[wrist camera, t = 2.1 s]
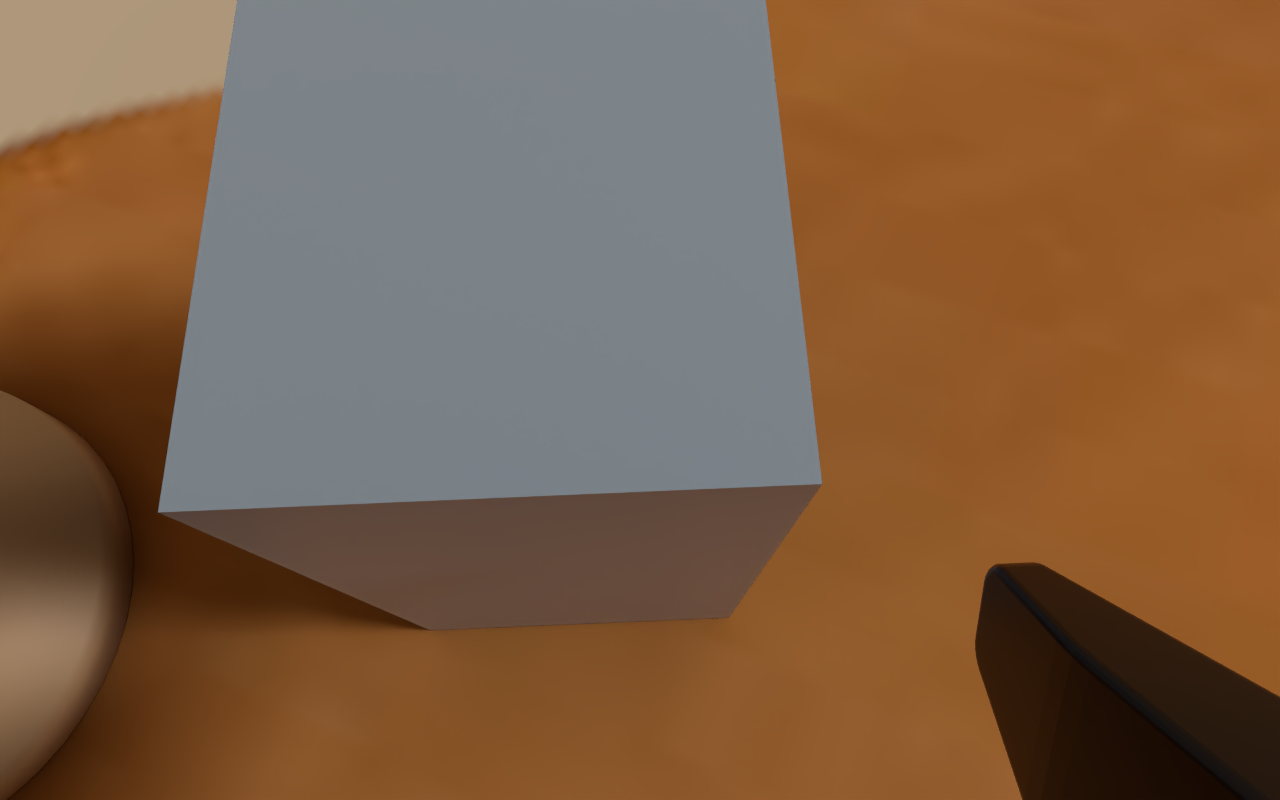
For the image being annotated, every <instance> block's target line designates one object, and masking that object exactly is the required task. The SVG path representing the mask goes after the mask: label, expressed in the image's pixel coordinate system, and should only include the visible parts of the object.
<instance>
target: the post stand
mask: <svg viewBox="0 0 1280 800" xmlns="http://www.w3.org/2000/svg"><path fill="white" fill-rule="evenodd" d="M133 563H134V558H133V546H132V534H131V529H130V524H129V520H128V516H127V511H126V507H125V504H124V502H123V499H122V497H121V494H120V492H119V489H118V487H117V484H116V482H115V480H114V478H113V477H112V475H111V473H110V472H109V470H108V468H107V467H106V465H105V463H104V462H103V460H102V459H101V458H100V457H99V455H98V454H97V453H96V452H95V451H94V450H93V448H92V447H91V446H90V445H89V444H88V443H87V441H85V440H84V439H83V438H82V437H81V436H79V435H78V434H77V433H76V432H75V431H74V430H72V429H71V428H70V427H69V426H67V425H66V424H64V423H62V422H61V421H59V420H57V419H56V418H54V417H52V416H51V415H49V414H47V413H46V412H44V411H42V410H40V409H38V408H36V407H34V406H32V405H30V404H28V403H26V402H24V401H22V400H21V399H19V398H17V397H15V396H13V395H11V394H8V393H6V392H3V391H1V390H0V800H7V799H8V798H10V797H11V796H12V795H13V794H15V793H16V792H17V791H18V790H19V789H20V788H21V787H22V786H23V785H24V784H26V783H27V782H28V781H29V780H30V779H31V778H32V777H33V776H34V775H35V774H37V773H38V772H39V771H40V770H41V769H42V767H43V766H44V765H45V764H46V763H47V762H48V761H49V760H50V758H51V757H52V756H53V755H54V754H55V753H56V752H57V751H58V750H59V748H60V747H61V746H62V745H63V744H64V743H65V741H66V740H67V739H68V737H69V736H70V734H71V733H72V732H73V730H74V729H75V728H76V726H77V725H78V723H79V722H80V721H81V719H82V718H83V717H84V715H85V714H86V712H87V710H88V709H89V707H90V705H91V703H92V702H93V700H94V698H95V696H96V695H97V693H98V691H99V689H100V688H101V686H102V684H103V682H104V680H105V678H106V675H107V673H108V671H109V669H110V666H111V664H112V662H113V659H114V657H115V655H116V653H117V650H118V646H119V643H120V640H121V637H122V634H123V630H124V627H125V624H126V621H127V615H128V610H129V604H130V599H131V593H132V582H133Z"/></svg>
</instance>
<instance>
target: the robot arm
mask: <svg viewBox="0 0 1280 800" xmlns="http://www.w3.org/2000/svg"><path fill="white" fill-rule="evenodd" d="M975 650H976V658H977V663H978V667H979V670H980V673H981V676H982V679H983V682H984V685H985V688H986V691H987V694H988V697H989V700H990V703H991V706H992V709H993V713H994V716H995V719H996V722H997V725H998V728H999V731H1000V734H1001V737H1002V740H1003V743H1004V746H1005V749H1006V752H1007V755H1008V758H1009V761H1010V764H1011V767H1012V770H1013V773H1014V776H1015V779H1016V782H1017V785H1018V788H1019V791H1020V794H1021V797H1022V800H1280V697H1279V696H1277V695H1276V694H1274V693H1272V692H1270V691H1268V690H1267V689H1265V688H1263V687H1261V686H1259V685H1258V684H1256V683H1254V682H1252V681H1250V680H1249V679H1247V678H1245V677H1243V676H1241V675H1240V674H1238V673H1236V672H1234V671H1233V670H1231V669H1229V668H1227V667H1225V666H1224V665H1222V664H1220V663H1218V662H1216V661H1215V660H1213V659H1211V658H1209V657H1207V656H1206V655H1204V654H1202V653H1200V652H1198V651H1197V650H1195V649H1193V648H1191V647H1190V646H1188V645H1186V644H1184V643H1182V642H1181V641H1179V640H1177V639H1175V638H1173V637H1172V636H1170V635H1168V634H1166V633H1164V632H1163V631H1161V630H1159V629H1157V628H1155V627H1154V626H1152V625H1150V624H1148V623H1146V622H1145V621H1143V620H1141V619H1139V618H1138V617H1136V616H1134V615H1132V614H1130V613H1129V612H1127V611H1125V610H1123V609H1121V608H1120V607H1118V606H1116V605H1114V604H1112V603H1111V602H1109V601H1107V600H1105V599H1103V598H1102V597H1100V596H1098V595H1096V594H1094V593H1093V592H1091V591H1089V590H1087V589H1086V588H1084V587H1082V586H1080V585H1078V584H1077V583H1075V582H1073V581H1071V580H1069V579H1068V578H1066V577H1064V576H1062V575H1060V574H1059V573H1057V572H1055V571H1053V570H1051V569H1050V568H1048V567H1046V566H1044V565H1042V564H1039V563H1033V562H1032V563H1009V564H996V565H994V566H993V567H991V568H990V569H989V570H988V572H987V574H986V577H985V581H984V587H983V593H982V599H981V606H980V612H979V619H978V625H977V632H976V639H975Z"/></svg>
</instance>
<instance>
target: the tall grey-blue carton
mask: <svg viewBox="0 0 1280 800" xmlns="http://www.w3.org/2000/svg"><path fill="white" fill-rule="evenodd" d="M821 485H822V479H821V471H820V462H819V453H818V445H817V436H816V428H815V419H814V411H813V402H812V393H811V385H810V376H809V368H808V359H807V351H806V342H805V334H804V325H803V316H802V308H801V299H800V291H799V282H798V274H797V265H796V256H795V248H794V239H793V231H792V222H791V214H790V205H789V196H788V188H787V179H786V171H785V162H784V154H783V145H782V137H781V128H780V119H779V111H778V102H777V94H776V85H775V77H774V68H773V59H772V51H771V42H770V34H769V25H768V17H767V8H766V0H237V5H236V12H235V18H234V25H233V32H232V38H231V44H230V51H229V57H228V63H227V70H226V76H225V83H224V89H223V96H222V102H221V109H220V115H219V121H218V128H217V134H216V141H215V147H214V154H213V160H212V167H211V173H210V179H209V186H208V192H207V199H206V205H205V212H204V218H203V225H202V231H201V238H200V244H199V250H198V257H197V263H196V270H195V276H194V283H193V289H192V296H191V302H190V308H189V315H188V321H187V328H186V334H185V341H184V347H183V354H182V360H181V367H180V373H179V379H178V386H177V392H176V399H175V405H174V412H173V418H172V425H171V431H170V438H169V444H168V450H167V457H166V463H165V470H164V476H163V483H162V489H161V496H160V502H159V508H158V513H160V514H163V515H165V516H167V517H170V518H172V519H174V520H176V521H179V522H181V523H183V524H186V525H188V526H190V527H193V528H195V529H197V530H200V531H202V532H204V533H206V534H209V535H211V536H213V537H216V538H218V539H220V540H223V541H225V542H227V543H229V544H232V545H234V546H236V547H239V548H241V549H243V550H246V551H248V552H250V553H253V554H255V555H257V556H259V557H262V558H264V559H266V560H269V561H271V562H273V563H276V564H278V565H280V566H283V567H285V568H287V569H289V570H292V571H294V572H296V573H299V574H301V575H303V576H306V577H308V578H310V579H313V580H315V581H317V582H319V583H322V584H324V585H326V586H329V587H331V588H333V589H336V590H338V591H340V592H342V593H345V594H347V595H349V596H352V597H354V598H356V599H359V600H361V601H363V602H366V603H368V604H370V605H372V606H375V607H377V608H379V609H382V610H384V611H386V612H389V613H391V614H393V615H396V616H398V617H400V618H402V619H405V620H407V621H409V622H412V623H414V624H416V625H419V626H421V627H423V628H426V629H428V630H451V629H474V628H498V627H521V626H544V625H567V624H591V623H614V622H637V621H660V620H683V619H707V618H729V617H730V615H731V614H732V612H733V611H734V609H735V608H736V607H737V605H738V604H739V602H740V601H741V599H742V598H743V597H744V595H745V594H746V592H747V591H748V589H749V588H750V587H751V585H752V584H753V582H754V581H755V579H756V578H757V577H758V575H759V574H760V572H761V571H762V569H763V568H764V566H765V565H766V564H767V562H768V561H769V559H770V558H771V556H772V555H773V554H774V552H775V551H776V549H777V548H778V546H779V545H780V544H781V542H782V541H783V539H784V538H785V536H786V535H787V534H788V532H789V531H790V529H791V528H792V526H793V525H794V524H795V522H796V521H797V519H798V518H799V516H800V515H801V513H802V512H803V511H804V509H805V508H806V506H807V505H808V503H809V502H810V501H811V499H812V498H813V496H814V495H815V493H816V492H817V491H818V489H819V488H820V486H821Z"/></svg>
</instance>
